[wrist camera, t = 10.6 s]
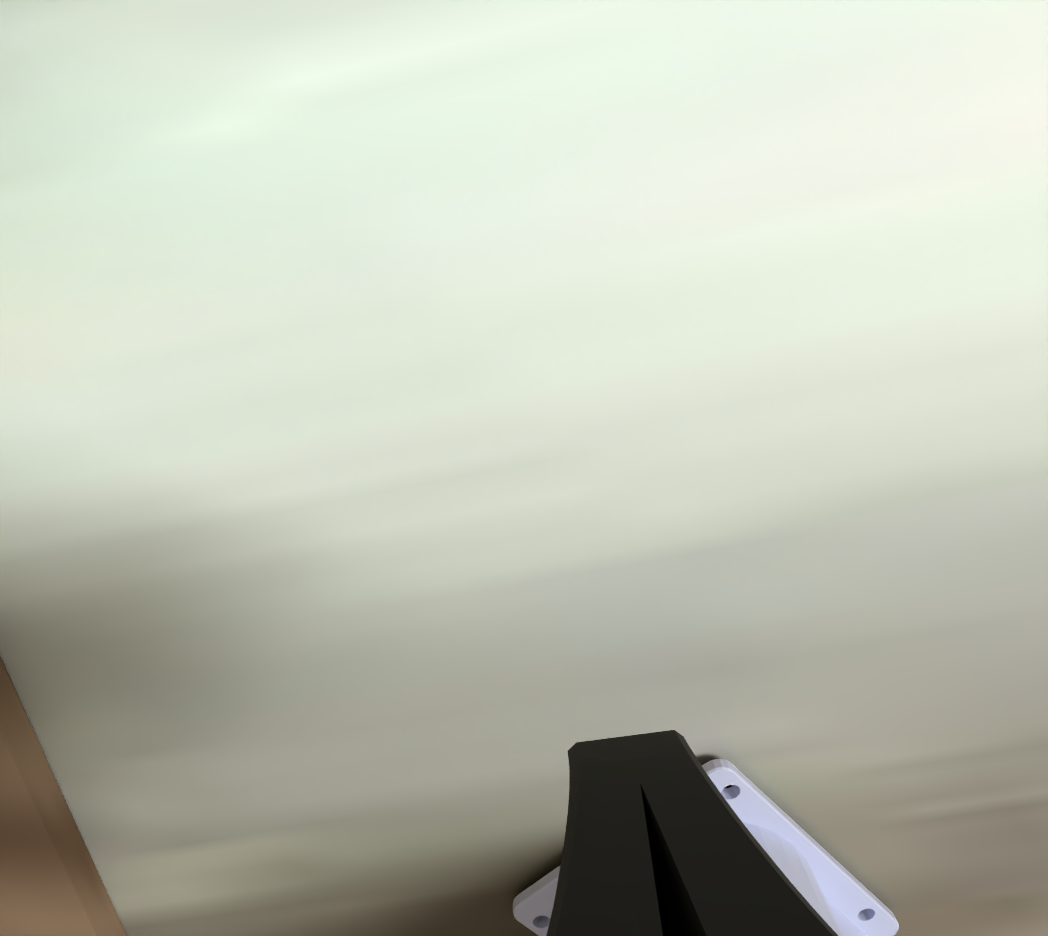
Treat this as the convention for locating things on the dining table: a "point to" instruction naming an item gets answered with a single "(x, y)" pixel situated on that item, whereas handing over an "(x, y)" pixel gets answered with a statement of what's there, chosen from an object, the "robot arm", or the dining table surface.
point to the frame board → (42, 842)
